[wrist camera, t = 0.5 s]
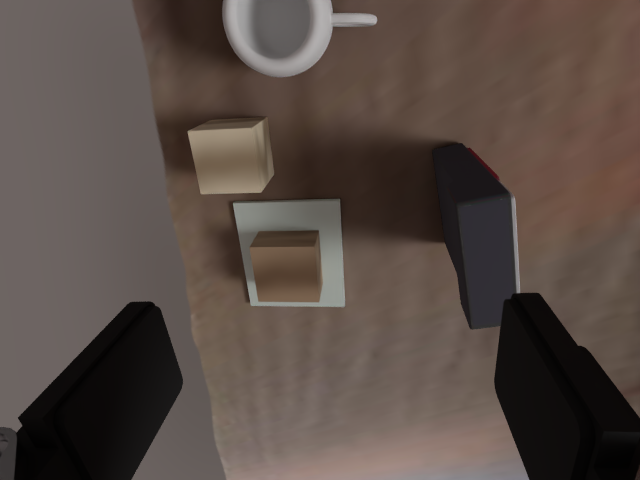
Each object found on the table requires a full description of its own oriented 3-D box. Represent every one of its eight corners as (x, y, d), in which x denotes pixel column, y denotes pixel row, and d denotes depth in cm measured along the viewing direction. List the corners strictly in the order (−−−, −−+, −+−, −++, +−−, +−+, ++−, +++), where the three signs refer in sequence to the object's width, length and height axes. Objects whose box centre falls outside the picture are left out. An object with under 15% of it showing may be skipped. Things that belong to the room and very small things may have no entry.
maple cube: (211, 119, 40) (187, 131, 35) (267, 116, 39) (252, 127, 34) (221, 175, 43) (200, 194, 38) (274, 173, 42) (261, 192, 37)
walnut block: (258, 231, 45) (249, 247, 41) (318, 230, 44) (314, 246, 40) (266, 282, 48) (258, 301, 44) (322, 282, 47) (319, 302, 43)
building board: (234, 201, 44) (232, 203, 43) (340, 198, 42) (339, 200, 42) (252, 303, 50) (250, 305, 50) (345, 303, 49) (344, 306, 48)
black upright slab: (479, 237, 43) (530, 325, 29) (439, 244, 44) (470, 332, 30) (469, 139, 38) (524, 190, 25) (425, 150, 39) (455, 204, 26)
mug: (249, 72, 38) (222, 79, 31) (241, -33, 34) (208, -53, 27) (373, 74, 37) (374, 80, 30) (379, -35, 33) (383, -57, 26)
